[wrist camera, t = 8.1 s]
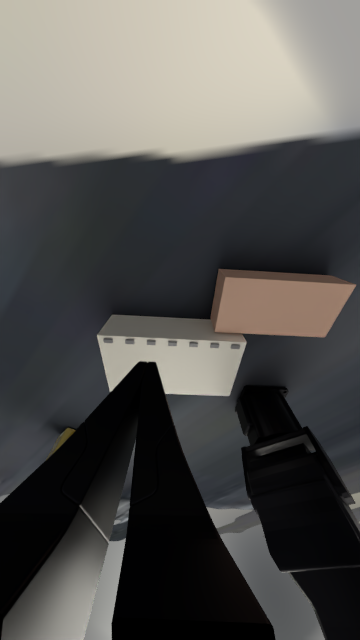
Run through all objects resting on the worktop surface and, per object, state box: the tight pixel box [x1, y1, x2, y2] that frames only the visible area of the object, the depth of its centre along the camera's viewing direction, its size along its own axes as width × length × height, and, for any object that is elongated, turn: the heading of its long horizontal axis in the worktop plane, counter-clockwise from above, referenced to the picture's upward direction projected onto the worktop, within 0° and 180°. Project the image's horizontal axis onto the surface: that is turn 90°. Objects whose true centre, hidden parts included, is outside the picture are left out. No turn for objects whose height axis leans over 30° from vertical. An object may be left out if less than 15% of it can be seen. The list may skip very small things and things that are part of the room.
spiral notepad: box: [97, 315, 247, 396], centre depth 20 cm, size 14×8×4 cm, turn 87°
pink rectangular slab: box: [210, 269, 356, 337], centre depth 17 cm, size 11×5×3 cm, turn 87°
